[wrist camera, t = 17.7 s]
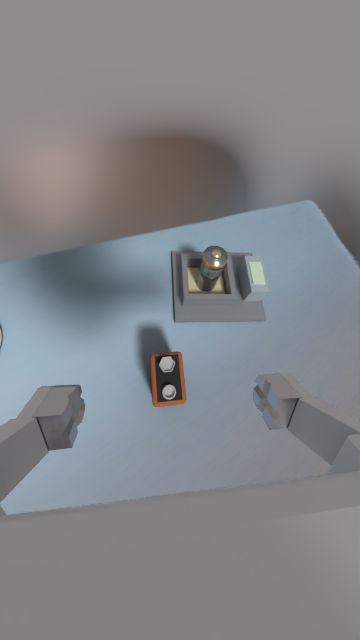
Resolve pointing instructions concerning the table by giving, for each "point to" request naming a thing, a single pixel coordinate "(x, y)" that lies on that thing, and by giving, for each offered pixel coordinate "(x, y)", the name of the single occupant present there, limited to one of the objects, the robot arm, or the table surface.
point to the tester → (220, 289)
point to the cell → (211, 268)
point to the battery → (167, 379)
